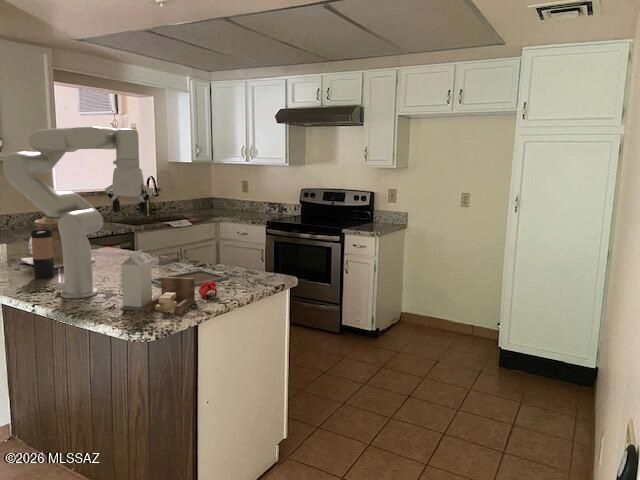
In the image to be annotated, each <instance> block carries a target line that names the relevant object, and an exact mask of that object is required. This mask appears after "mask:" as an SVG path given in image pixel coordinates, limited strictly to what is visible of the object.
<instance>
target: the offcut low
mask: <svg viewBox="0 0 640 480" xmlns="http://www.w3.org/2000/svg"><path fill="white" fill-rule="evenodd" d="M156 310H157V312H162V311H163V313H168V312H169V314H173V313H174V314H176V308H172V309H165V308H163V307H162V306H161V305H159V304H158V305H155V309H154V311H156Z"/></svg>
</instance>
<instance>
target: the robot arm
mask: <svg viewBox="0 0 640 480" xmlns="http://www.w3.org/2000/svg"><path fill="white" fill-rule="evenodd" d="M139 140H140V139H139V132H138V130H136V129H134V128H113V127H105V126H104V127H103V126H77V127H76V126H75V127H62V128H59V127H58V128H41V129H35V130H34V131H32V132H31V133H30V134H29V136H28V144H29V146H30V147H31V148H32V149H33V150H34V151H16V152H12V153H9V154H8V155H6V156H5V157H4V159H3V163H2V168H3V169H2V170H3V175H4V176H5V178H6V180H7V182H8V183H9V185H11V186H12V187H13V188H14V189H16V190H17V191H18V192H19V193H21V194H22V195H23V196H24V197H26V198H27V199H28V200H29V201H30V202H31V203H32V204H33V205H34V206H35V207H37V208H38V209H39V210H40V211H41V212H42V213H44V215H45V216H46V215H47V216H49V217H54V218H55V217H60V219H59V221H58V229H59V233H60V237H61V241H62V251H63V264H64V266H63V280H64V282H61V281H58V282H56V285H55V289H61V290H62V291H60V296H61V297H62V298H65V299H82V298H83V299H84V298H90V297H92V296H95V295H97V294H98V291H99V290H98V289H97V287H94V285H93V284H94V280H93V279H94V278H93V265H92V264H93V262H92V259H91V257H92V248H91V247H92V246H91V243H90V241H89V238H88V236H87V235H90V234H94V233H97V232H99V231H100V230H101V229H102V227H103V226H104V218H103V216H102V215H101V213H100V211H98V209H96V208H95V207H94V206H93V205H92V204H91V203H90V202H88V201H87V200H86V199H85V198H84V197H82V196H81V195H80V194H78V193H77V192H74V191H71V190H63V191H60V190H56V189H54V188H53V187H51V186H50V185H49V184H48V182H46V181H44V180H43V179H41V178H39V177H37V176H35V175H45V174H48V173H49V172H50V171H52V170H53V168H54V167H55V166H56V165H57V163H58V162H59V161H60V160H61V159H62V158H63V156H64V155H65V154H66V153H74V152H77V151H78V150H115V157H116V158H115V160H113V161H112V163H113V165H115V166H116V167H114V169H113V173H112V184H111V185H109V186H107V187H104V188H105V189H104V191H105V193H106V194H107V196H108V198H110V201H111V202H112V209H113V212H114V213H118V212H120V211H121V205H120V204H121V203H120V200H119V199H120V198H121V197H128V198H129V197H132V198H133V197H134V198H136V197H137V199H139V201H140V202H139V213H140V214H144V213H147V201H149V200H150V198H151V196H152V195H153V192H154V190H153V189H152V188H150V187H149V186H148V185H145V181H144V174H143V171H142V168H140V148H139V147H140V144H139ZM145 192H147V193H146V195H145Z"/></svg>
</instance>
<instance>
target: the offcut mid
mask: <svg viewBox="0 0 640 480" xmlns="http://www.w3.org/2000/svg"><path fill="white" fill-rule="evenodd" d="M158 304H159V305H161V306H162V307H163V308H165V309H172V308H176V306H177V305H178V302H176V301H175V300H173V301H172V302H171V303H160V302H159V298H158Z"/></svg>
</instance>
